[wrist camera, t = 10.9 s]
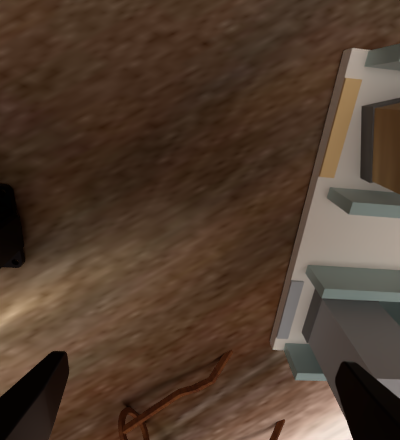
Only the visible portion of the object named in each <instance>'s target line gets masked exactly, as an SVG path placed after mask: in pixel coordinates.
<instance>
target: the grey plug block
mask: <svg viewBox="0 0 400 440" xmlns="http://www.w3.org/2000/svg"><path fill="white" fill-rule="evenodd" d="M378 302H379V301H367V300H347V299H327V298H321V296H320V295H319V293H318V292H317V290H316V289H315V290H314V293H313V297H312V300H311V303H310V306H309V309H308V313H307V316H306V319H305V322H304V326H303V329H302V334H303V336H304V338H305V340H306V343H309V345H310V347H311V349H312V351H313V353H314V355H315V357H316V359H317V361H318V363H319V365H320V367H321V369H322V371H323V373H324V376H325V378H326V380H327V382H328V384H329V386H330V388H331V390H332V392H333V394H334V396H335V398H336V400H337V402H338V404H339V406H340V408H341V410H342V412H343V414H344V411H343V407H342V404H341V401H340V398H339V395H338V392H337V388H336V385H335V376H336V374H337V371H338V369H339V366H340V364H341V362H342V361H354V362H356V363H358V364H359V365H360V366H361V367H363V368H364V369H365V370H366V371H367V372H369V373H370V374H371V375H372V376H373V377H375V378H376V379H377V380H378V381H379V382H381V383H382V384H383V385H384V386H385V387H387V388H388V389H389V390H390V391H391V392H393V393H394V394H395V395H396V396H397V397H399V398H400V326H399V325H398V324H397V322H396V321H395V320H394V319H393V318H392V317H391V316H390V315H389V314H388V313H387V312H386V310H385V309H384V308H383V307H382V306H381V305H380V304H379V303H378ZM344 416H345V414H344ZM345 418H346V417H345Z"/></svg>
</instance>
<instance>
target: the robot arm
mask: <svg viewBox="0 0 400 440" xmlns="http://www.w3.org/2000/svg"><path fill="white" fill-rule="evenodd" d="M2 189H3V190H4V191H5V192H6V194H4V193H3V192H2ZM23 247H24V242H23V236H22V230H21V224H20V219H19V216H18V215H17V211H16V206H15V200H14V194H13V190H12V188H11V187H10V186H9V185H7V184H0V268H1V267H11V268H19V267H21V266H22V265H23V264H24V262H25V257H24V252H23ZM15 259H16V260H18V262H16V261H15ZM68 375H69V365H68V357H67V353H66V352H65V351H53V352H51V353H50V354H48V355H47V356H46V357H45V358H44V359H43V360H42V361H41V362H39V363H38V364H37V365H36V366H35V367H34V368H33V369H32V370H30V371H29V372H28V373H27V374H26V375H25V376H24V377H23V378H21V379H20V380H19V381H18V382H17V383H16V384H15V385H14V386H12V387H11V388H10V389H9V390H8V391H7V392H6V393H5V394H3V395H2V396H1V397H0V440H48V439H49V437H50V434H51V431H52V428H53V425H54V422H55V419H56V416H57V412H58V409H59V406H60V402H61V399H62V396H63V392H64V389H65V386H66V383H67V379H68ZM335 385H336V388H337V392H338V395H339V398H340V401H341V404H342V407H343V411H344V414H345V417H346V420H347V423H348V426H349V429H350V432H351V435H352V438H353V440H400V398H399V397H397V396H396V395H395V394H394V393H393V392H391V391H390V390H389V389H388V388H387V387H385V386H384V385H383V384H382V383H381V382H379V381H378V380H377V379H376V378H375V377H373V376H372V375H371V374H370V373H369V372H367V371H366V370H365V369H364V368H363V367H361V366H360V365H359V364H358V363H356V362H354V361H342V362H341V364H340V366H339V369H338V371H337V374H336V376H335Z"/></svg>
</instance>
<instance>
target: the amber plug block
mask: <svg viewBox="0 0 400 440" xmlns="http://www.w3.org/2000/svg"><path fill="white" fill-rule="evenodd" d="M360 178H361V179H363V180H365V181H367V182H369V183H376V184H378V185H381V186H383V187H385V188H387V189H389V190H391V191H393V192H395V193H398V194H400V98H395V99H391V100H386V101H382V102H377V103H373V104H368V105H364V106H362V109H361V160H360Z"/></svg>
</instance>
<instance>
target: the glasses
mask: <svg viewBox="0 0 400 440" xmlns="http://www.w3.org/2000/svg"><path fill="white" fill-rule="evenodd" d="M232 354H233V351H232V350H231V351H229V352H226V353H224V354H223V355H222V357H221V359H220V360H219V362H218V363H217V365H216V366H215V368H214V370H213V371H212V373H211V374H210V376H209V378H207V379H205V380H202V381H200V382H198V383H196V384H194V385H191V386H188V387H184V388H181V389H178V390H176V391H175V392H173V393H172V394H170V395H169V396H167V397H166V398H164V399H163V400H161V401H160V402H158V403H157V404H155V405H154V406H152V407H151V408H149V409H148V410H146V411H145V412H143V413H142V414H140V415H139V414H138V413H136V412H135V411H134V410H133V409H132V408H131V407H126V408H125V409H123V410H122V411H121V413H120V415H119V421H118V430H119V437H120V440H128V439H127V436H126V433H128V432H129V431H131V430H132V429H134V428H135V427H137V426H138V425H139V426H140V428H141V430H142V434H143V439H144V440H149V435H148V430H147V427H146V424H145V422H144V421H146V420H147V419H149V418H150V417H152V416H153V415H155V414H156V413H158V412H159V411H161V410H162V409H164V408H165V407H167V406H168V405H169V404H171V403H172V402H174V401H175V400H177V399H178V398H180V397H182V396H185V395H189V394H192V393H196V392H198V391H200V390H202V389H204V388H206V387H208V386H210V385H211V384H213V383H215V381H216V380H217V378H218V376H219V375H220V373H221V372H222V370H223V368H224V367H225V365H226V363H227V362H228V360H229V359H230V357H231V355H232ZM127 415H131V416H132V417H133V418H134V419H133V420H131V421H130V422H128V423H127V424H125V419H126V416H127ZM284 423H285V419H284V420H281V421H278V422H277V424H276V426H275V428H274V431H273V433H272V435H271V438H270V440H277V439H278V437H279V435H280V432H281V430H282V427H283V425H284Z"/></svg>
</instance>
